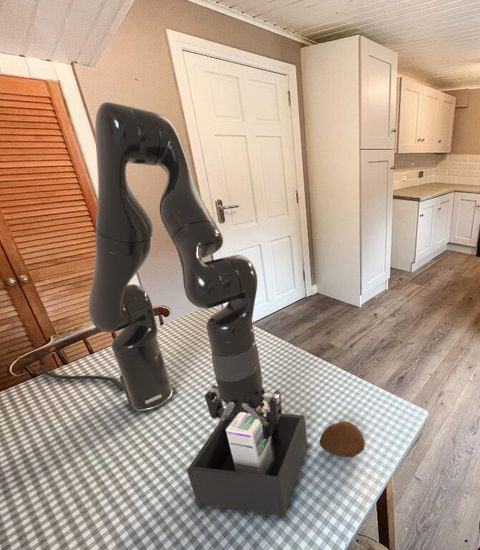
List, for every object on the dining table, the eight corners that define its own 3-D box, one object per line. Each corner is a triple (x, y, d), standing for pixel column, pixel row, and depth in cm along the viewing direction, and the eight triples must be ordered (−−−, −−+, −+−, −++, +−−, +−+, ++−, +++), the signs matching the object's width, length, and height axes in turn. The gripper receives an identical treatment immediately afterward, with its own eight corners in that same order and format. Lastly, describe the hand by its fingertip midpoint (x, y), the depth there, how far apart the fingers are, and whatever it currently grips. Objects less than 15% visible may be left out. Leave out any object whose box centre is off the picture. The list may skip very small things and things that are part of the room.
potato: (324, 432, 74) (323, 411, 71) (366, 437, 73) (367, 415, 70) (316, 459, 67) (315, 436, 65) (363, 465, 66) (363, 442, 64)
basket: (197, 505, 58) (186, 470, 55) (235, 439, 72) (229, 408, 68) (285, 516, 57) (279, 481, 53) (307, 447, 70) (304, 415, 67)
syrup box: (262, 486, 61) (253, 433, 56) (236, 480, 62) (224, 428, 57) (276, 460, 66) (268, 410, 61) (251, 455, 67) (242, 405, 62)
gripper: (283, 355, 57) (291, 421, 63) (212, 350, 58) (226, 415, 64) (267, 383, 50) (277, 454, 56) (186, 376, 51) (204, 446, 57)
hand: (250, 433), depth 60 cm, fingers open, 7 cm apart
